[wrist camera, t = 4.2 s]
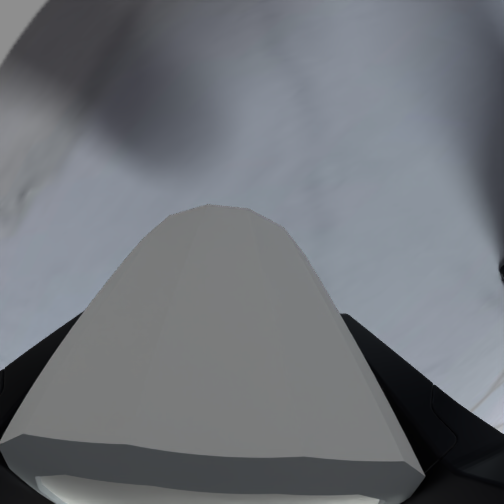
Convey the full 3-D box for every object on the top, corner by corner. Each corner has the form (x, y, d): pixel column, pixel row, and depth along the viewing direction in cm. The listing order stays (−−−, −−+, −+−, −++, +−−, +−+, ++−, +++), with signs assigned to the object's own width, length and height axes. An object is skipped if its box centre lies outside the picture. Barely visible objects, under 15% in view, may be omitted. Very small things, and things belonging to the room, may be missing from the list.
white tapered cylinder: (143, 367, 11) (109, 536, 5) (87, 197, 8) (-85, 387, 2) (321, 357, 11) (365, 533, 5) (336, 174, 8) (525, 387, 2)
